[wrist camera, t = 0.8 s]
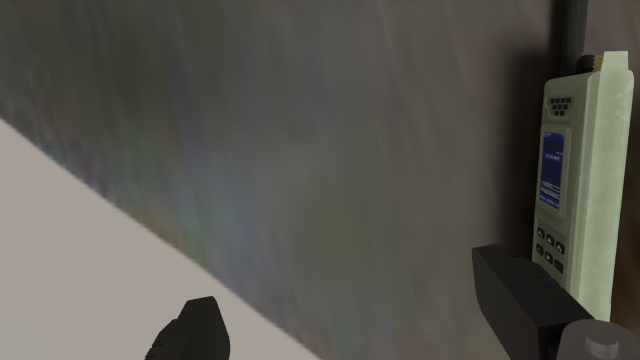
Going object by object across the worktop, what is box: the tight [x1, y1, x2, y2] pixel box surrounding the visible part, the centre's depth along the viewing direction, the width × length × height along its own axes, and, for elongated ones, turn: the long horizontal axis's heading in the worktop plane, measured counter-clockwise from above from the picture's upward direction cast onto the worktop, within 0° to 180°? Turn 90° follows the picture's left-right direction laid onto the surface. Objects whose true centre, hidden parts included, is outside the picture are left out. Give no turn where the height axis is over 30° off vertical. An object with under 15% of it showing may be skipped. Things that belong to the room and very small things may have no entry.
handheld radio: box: [532, 0, 634, 322], centre depth 26 cm, size 7×3×25 cm
